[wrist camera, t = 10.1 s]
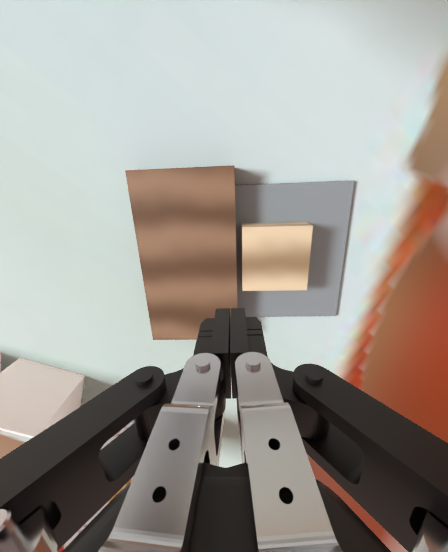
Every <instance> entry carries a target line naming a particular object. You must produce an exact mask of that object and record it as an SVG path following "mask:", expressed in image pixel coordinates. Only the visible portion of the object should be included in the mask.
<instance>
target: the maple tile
mask: <svg viewBox="0 0 448 552" xmlns="http://www.w3.org/2000/svg"><path fill="white" fill-rule="evenodd" d="M312 231H313V225H311V224H309V223H307V222H280V223H242V291H287V290H307V283H308V273H309V262H310V252H311V241H312Z"/></svg>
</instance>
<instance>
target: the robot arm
mask: <svg viewBox="0 0 448 552" xmlns="http://www.w3.org/2000/svg"><path fill="white" fill-rule="evenodd" d="M231 379H232V396H233V398H237V415H238V426H239V436H240V446H241V455H242V464H239V465H236V466H232V467H229V468H222V467H219V458H220V450H221V441H222V433H223V425H224V410H225V403H226V398H231ZM133 420H134V421H135V423H133V424H132V425H131V426H130V427H128V428H127V429H126V430H125V431H123V432H122V433H121V434H120V435H119V436H117V437H116V438H115V439H114V440H112V441H111V442H110V443H109V444H107V445H106V446H105V447H104V448H103V449H101V448H102V446H103V445H104V444H105V443H106V442H107V441H108V440H109V439H110V438H112V437H113V436H114V435H115V434H117V433H118V432H119V431H120V430H122V429H123V428H124V427H125V426H127V425H128V424H129V423H130V422H132V421H133ZM307 454H308V455H309V456H310V457H311V458H312V459H313V460H314V461H315V462H316V463H317V464H318V465H319V466H321V468H323V469H324V470H325V471H326V472H327V473H328V474H329V475H330V476H331V477H332V478H333V479H334V480H335V481H336V482H337V483H338V484H339V485H340V486H341V487H342V488H343V489H344V490H345V491H346V492H347V493H349V495H350V496H352V497H353V498H354V499H355V500H356V501H357V502H358V503H359V504H360V505H361V506H362V507H363V508H364V509H365V510H366V511H367V512H368V513H369V514H370V515H371V516H372V517H373V518H374V519H375V520H376V521H378V523H379V524H380V525H382V526H383V528H385V530H387V531H388V532H389V533H390V534H391V535H392V536H393V537H394V538H395V539H396V540H397V541H398V542H399V543H400V544H401V545H402V546H403V547H404V548H405V549H406V550H407V551H408V552H448V443H446V442H445V441H443V440H441V439H440V438H438V437H436V436H435V435H433V434H432V433H430V432H428V431H427V430H425V429H423V428H422V427H420V426H418V425H417V424H415V423H413V422H412V421H410V420H409V419H407V418H405V417H404V416H402V415H400V414H399V413H397V412H395V411H394V410H392V409H390V408H389V407H387V406H386V405H384V404H383V403H381V402H379V401H377V400H376V399H374V398H373V397H371V396H369V395H368V394H366V393H365V392H363V391H361V390H360V389H358V388H356V387H355V386H353V385H351V384H350V383H348V382H347V381H345V380H343V379H342V378H340V377H338V376H337V375H335V374H334V373H332V372H330V371H329V370H327V369H325V368H323V367H321V366H319V365H315V364H303V365H300V366H298V367H297V368H296V369H295V370H294V372H292V371H287V370H284V369H281V368H278V367H276V366H275V365H273V364H272V363H271V361H270V360H269V358H268V356H267V352H266V347H265V341H264V336H263V331H262V326H261V322H260V321H259V320H258V319H257V318H256V317H246V315H245V308H231V320H230V308H218V309H216V310H215V318H206V319H205V320H204V321H203V322H202V323H201V324H200V328H199V333H198V337H197V341H196V346H195V350H194V355H193V356H192V357H191V358H190V359H188V361H187V362H186V364H185V367H184V368H183V369H182V370H179V371H177V372H173V373H170V374H166V375H164V372H163V371H162V370H161V369H160V368H158V367H154V366H148V367H143V368H140V369H138V370H136V371H135V372H133V373H132V374H130V375H128V376H127V377H125V378H124V379H122V380H121V381H119V382H118V383H116V384H115V385H113V386H112V387H110V388H108V389H107V390H105V391H104V392H102V393H101V394H99V395H98V396H96V397H95V398H93V399H92V400H90V401H88V402H87V403H85V404H84V405H82V406H81V407H79V408H78V409H76V410H75V411H73V412H72V413H70V414H69V415H67V416H65V417H64V418H62V419H61V420H59V421H58V422H56V423H55V424H53V425H52V426H50V427H49V428H47V429H45V430H44V431H42V432H41V433H39V434H38V435H36V436H35V437H33V438H32V439H30V440H29V441H27V442H25V443H24V444H22V445H21V446H20V447H18V448H16V449H15V450H13V451H12V452H11V453H9V454H7V455H6V456H4V457H2V458H1V459H0V552H57V551H58V550H59V549H60V548H61V547H62V546H63V545H64V544H65V543H66V542H67V541H68V540H69V539H70V538H71V537H72V536H73V535H74V534H75V533H76V532H77V531H78V530H79V529H80V528H81V527H82V526H83V525H84V524H85V523H86V522H87V521H89V520H90V519H91V518H92V517H93V516H94V515H95V514H96V513H97V512H98V511H99V510H100V509H101V508H102V507H103V506H104V505H105V504H106V503H107V502H108V501H109V500H110V499H111V498H112V497H113V496H114V495H115V494H116V493H117V492H118V491H119V490H120V489H121V488H122V487H123V486H124V485H125V484H126V483H127V482H128V481H129V480H130V479H131V478H132V477H133V476H134V477H133V480H132V482H131V483H130V484H129V485H128V486H126V487H125V488H124V489H123V490H122V491H120V492H119V493H118V494H117V495H116V496H115V497H114V498H113V499H112V500H111V501H110V502H109V503H108V504H107V505H106V506H105V507H104V508H103V509H102V510H101V511H100V513H99V514H98V515H97V516H96V517H95V518H94V519H93V520H92V521H91V522H90V523H89V524H88V525H87V526H86V527H85V528H84V529H83V530H82V531H81V532H80V533H79V534H78V535H77V536H76V537H75V538H74V540H73V541H72V542H71V543H70V544H69V545H68V546H67V547H66V548H65V549H64V550H63V551H62V552H391V551H390V550H389V549H388V548H387V547H386V546H385V545H384V544H383V543H382V542H381V540H380V539H379V538H378V537H377V536H376V535H375V534H374V533H373V532H372V531H371V530H370V529H369V528H368V527H367V526H366V525H365V524H364V522H363V521H362V520H361V519H360V518H359V517H358V516H357V515H356V514H355V513H354V512H353V511H352V510H351V509H350V508H349V507H348V505H347V504H346V503H345V502H344V501H343V500H342V499H341V498H340V497H339V496H338V495H337V494H335V493H334V492H333V491H332V490H331V489H329V488H328V487H327V486H325V485H324V484H323V483H321V482H320V481H318V480H316V479H315V477H314V474H313V471H312V468H311V465H310V462H309V459H308V456H307Z"/></svg>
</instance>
